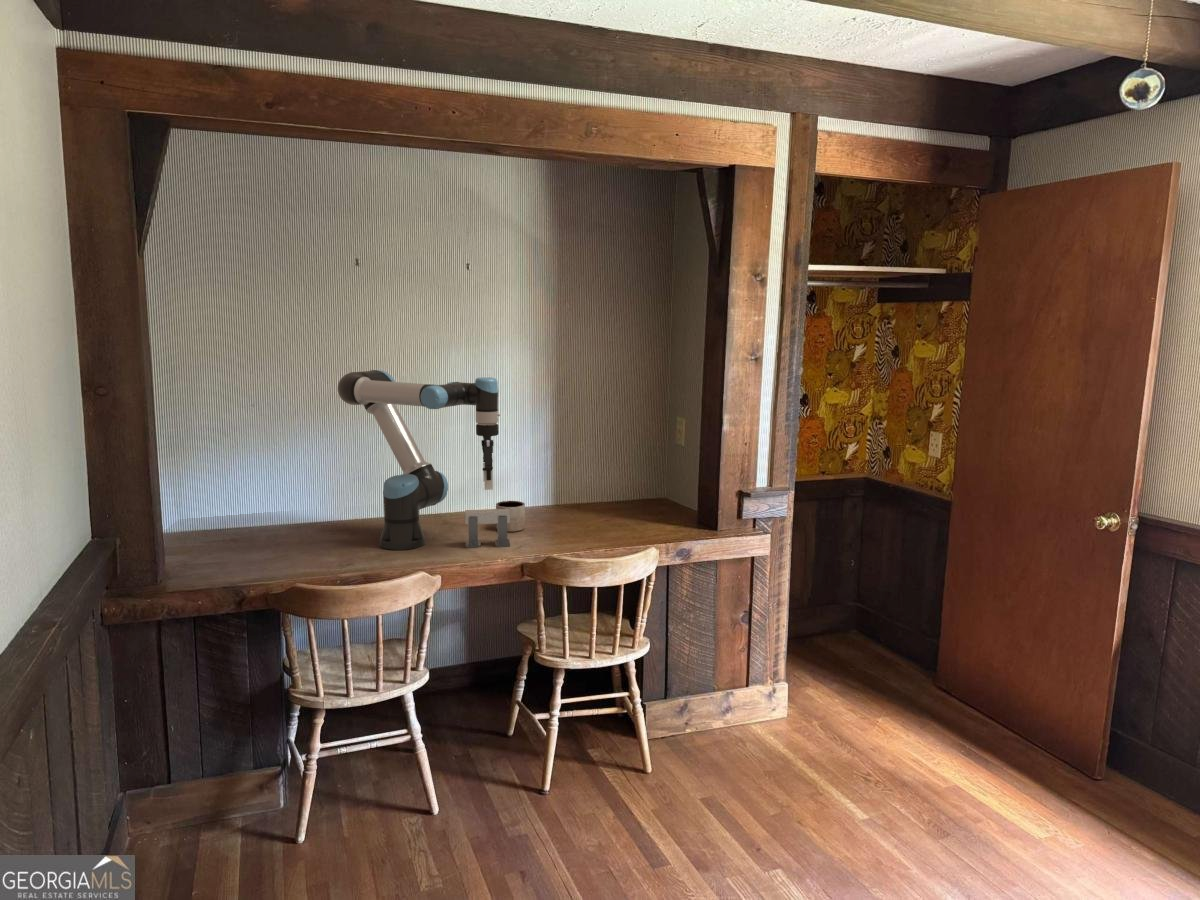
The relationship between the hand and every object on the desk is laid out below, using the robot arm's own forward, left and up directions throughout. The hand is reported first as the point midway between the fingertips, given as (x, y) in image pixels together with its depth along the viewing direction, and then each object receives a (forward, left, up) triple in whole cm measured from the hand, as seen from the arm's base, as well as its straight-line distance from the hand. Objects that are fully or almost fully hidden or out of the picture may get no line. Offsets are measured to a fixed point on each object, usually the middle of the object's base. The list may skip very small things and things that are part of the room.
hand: (488, 485), depth 271 cm
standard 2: (+5, 0, -21) cm, 22 cm away
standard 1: (-5, 0, -21) cm, 22 cm away
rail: (0, 0, -13) cm, 13 cm away
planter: (+9, +20, -21) cm, 31 cm away
